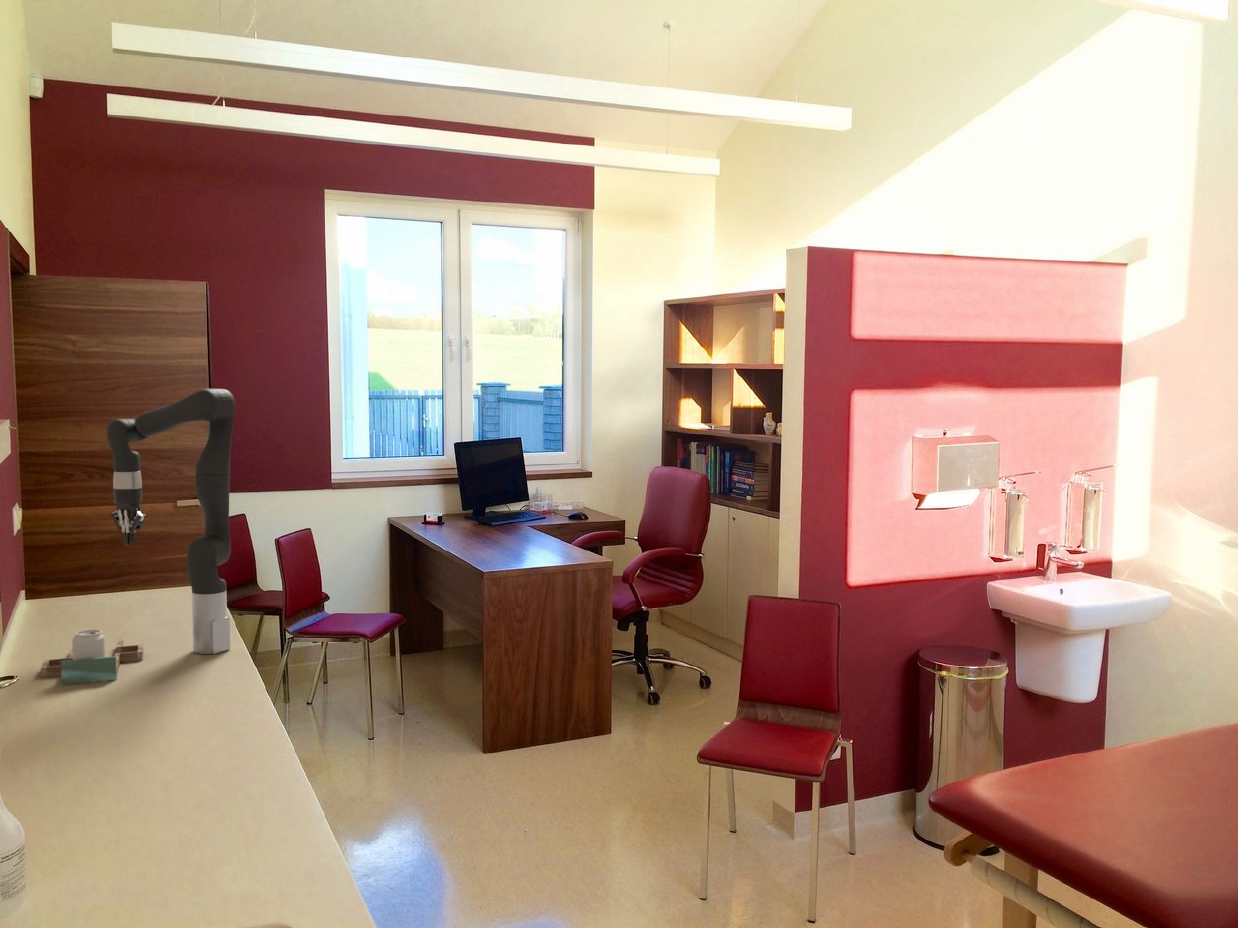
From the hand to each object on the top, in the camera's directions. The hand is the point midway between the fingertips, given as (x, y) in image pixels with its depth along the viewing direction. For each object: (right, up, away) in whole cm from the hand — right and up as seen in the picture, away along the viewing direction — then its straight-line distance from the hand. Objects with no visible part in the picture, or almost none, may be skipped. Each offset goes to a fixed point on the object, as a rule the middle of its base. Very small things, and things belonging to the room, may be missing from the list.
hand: (129, 544), depth 294 cm
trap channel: (+1, -31, -22) cm, 38 cm away
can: (+6, -32, -33) cm, 47 cm away
